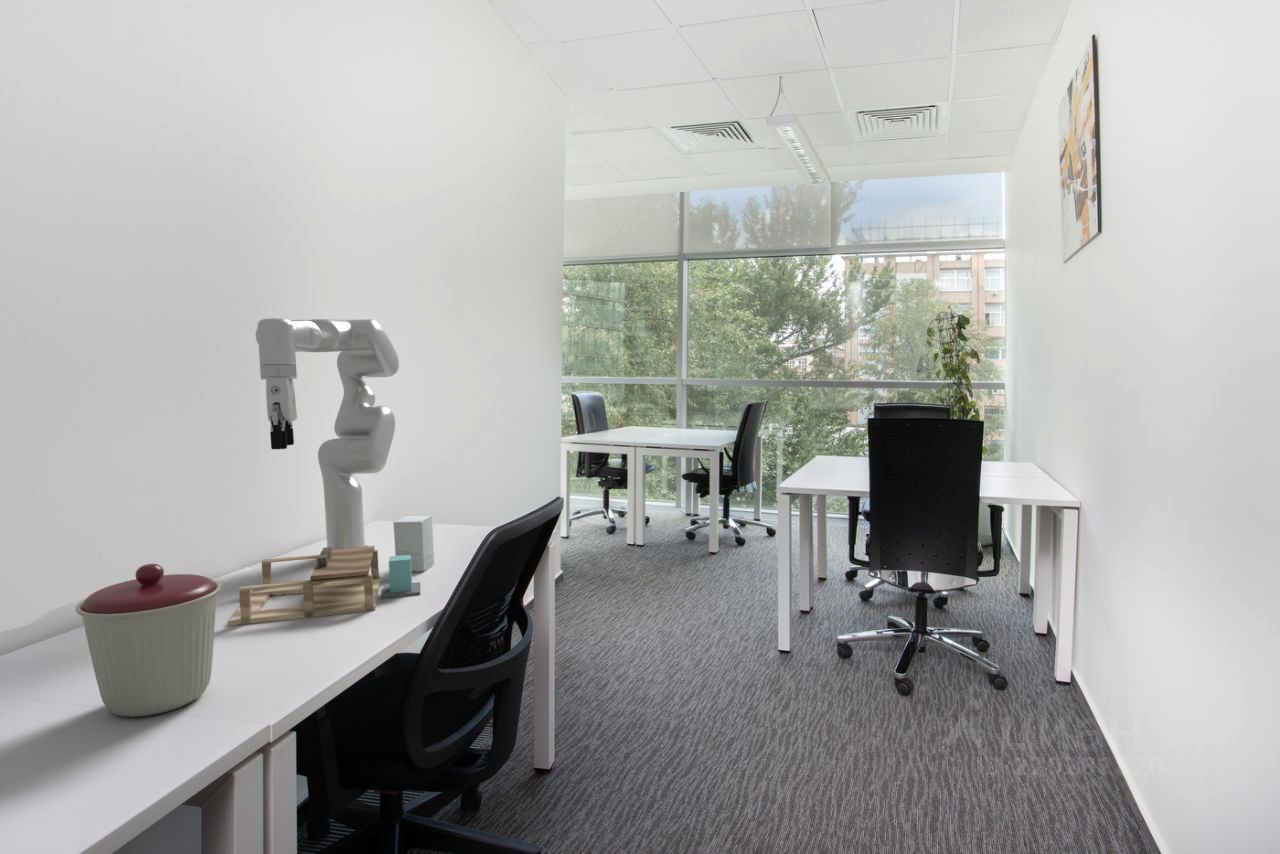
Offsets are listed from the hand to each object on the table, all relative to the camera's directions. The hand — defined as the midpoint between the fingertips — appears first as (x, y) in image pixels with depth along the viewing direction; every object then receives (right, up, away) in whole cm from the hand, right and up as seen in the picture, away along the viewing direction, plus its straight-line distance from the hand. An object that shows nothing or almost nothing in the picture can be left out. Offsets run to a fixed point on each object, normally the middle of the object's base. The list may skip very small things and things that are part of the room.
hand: (283, 447), depth 173 cm
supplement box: (+26, -31, +14) cm, 43 cm away
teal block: (+29, -32, -6) cm, 43 cm away
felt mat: (+29, -32, -6) cm, 44 cm away
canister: (+10, -37, -60) cm, 71 cm away
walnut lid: (+18, -25, -10) cm, 32 cm away
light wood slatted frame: (+12, -33, -11) cm, 37 cm away
